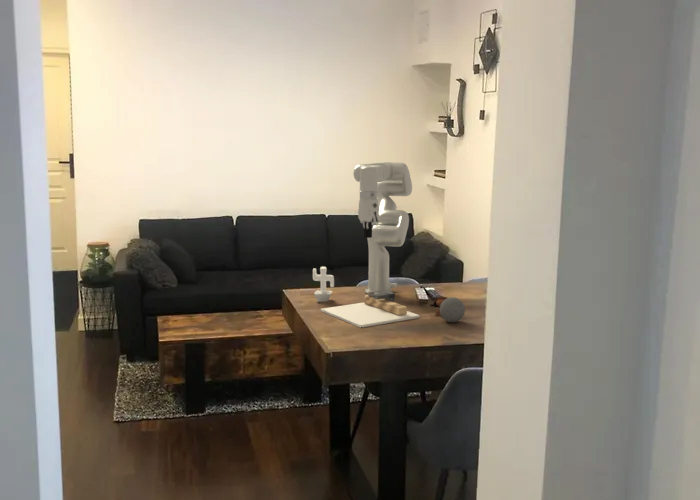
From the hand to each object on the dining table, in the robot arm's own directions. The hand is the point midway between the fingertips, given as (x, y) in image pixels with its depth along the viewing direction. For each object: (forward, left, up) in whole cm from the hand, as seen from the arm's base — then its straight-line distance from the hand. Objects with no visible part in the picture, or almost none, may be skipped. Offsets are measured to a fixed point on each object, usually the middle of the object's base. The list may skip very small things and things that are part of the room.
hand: (367, 237), depth 327 cm
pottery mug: (-17, +32, -29) cm, 47 cm away
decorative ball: (-11, +44, -29) cm, 54 cm away
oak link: (+2, +16, -28) cm, 32 cm away
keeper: (+1, +14, -28) cm, 31 cm away
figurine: (+14, -14, -29) cm, 35 cm away
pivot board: (+11, +17, -29) cm, 35 cm away
